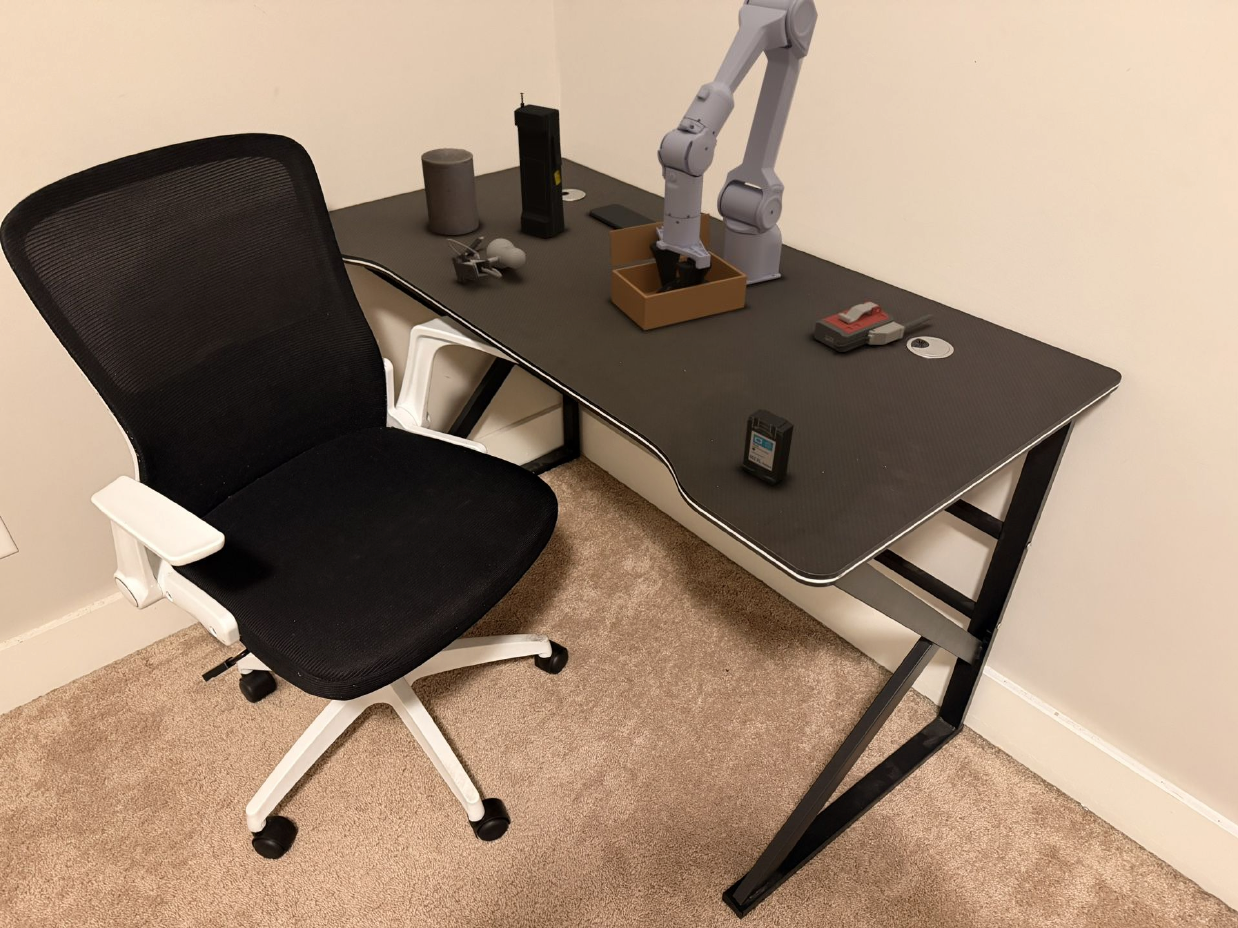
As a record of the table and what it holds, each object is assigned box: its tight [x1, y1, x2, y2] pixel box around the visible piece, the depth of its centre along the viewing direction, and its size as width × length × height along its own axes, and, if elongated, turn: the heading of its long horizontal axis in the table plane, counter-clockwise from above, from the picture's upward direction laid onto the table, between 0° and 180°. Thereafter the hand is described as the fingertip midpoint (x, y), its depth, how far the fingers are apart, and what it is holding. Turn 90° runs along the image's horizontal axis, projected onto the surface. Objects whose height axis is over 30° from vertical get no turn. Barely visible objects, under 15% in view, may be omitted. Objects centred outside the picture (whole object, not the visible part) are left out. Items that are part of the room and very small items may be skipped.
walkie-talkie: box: [813, 300, 934, 353], centre depth 133 cm, size 9×4×20 cm
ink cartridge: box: [741, 408, 795, 486], centre depth 102 cm, size 5×2×8 cm, turn 46°
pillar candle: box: [420, 147, 479, 236], centre depth 165 cm, size 10×10×15 cm
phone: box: [589, 203, 658, 230], centre depth 172 cm, size 7×1×15 cm
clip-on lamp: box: [446, 236, 527, 283], centre depth 151 cm, size 12×6×18 cm
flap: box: [609, 213, 711, 267], centre depth 141 cm, size 18×6×1 cm
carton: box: [611, 250, 747, 331], centre depth 141 cm, size 18×12×6 cm, turn 117°
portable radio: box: [513, 92, 566, 239], centre depth 160 cm, size 8×6×25 cm
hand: (678, 293), depth 141 cm, fingers closed on gaming mouse, 6 cm apart
